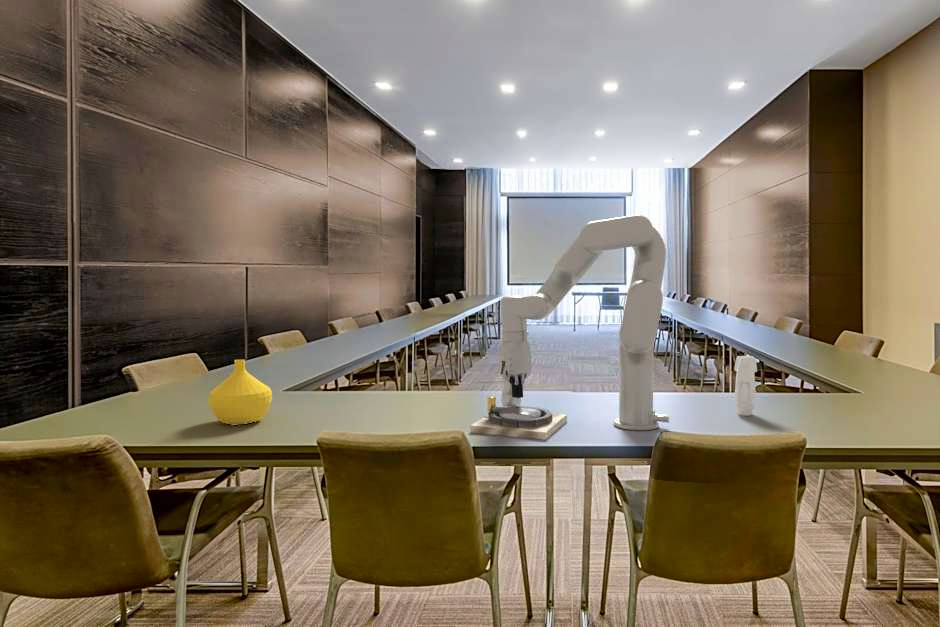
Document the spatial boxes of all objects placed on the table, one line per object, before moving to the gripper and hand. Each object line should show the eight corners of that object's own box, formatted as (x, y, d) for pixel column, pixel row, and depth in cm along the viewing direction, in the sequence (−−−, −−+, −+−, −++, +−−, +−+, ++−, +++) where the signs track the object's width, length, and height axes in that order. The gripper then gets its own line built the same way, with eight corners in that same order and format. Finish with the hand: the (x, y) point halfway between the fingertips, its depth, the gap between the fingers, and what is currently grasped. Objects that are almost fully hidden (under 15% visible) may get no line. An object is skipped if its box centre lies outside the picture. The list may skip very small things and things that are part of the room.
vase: (202, 430, 183) (199, 365, 182) (217, 416, 201) (215, 357, 200) (268, 427, 186) (265, 363, 184) (277, 413, 204) (275, 355, 202)
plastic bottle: (520, 410, 204) (519, 349, 203) (499, 409, 206) (498, 348, 204) (522, 405, 211) (522, 346, 209) (502, 405, 212) (501, 346, 211)
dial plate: (566, 421, 188) (566, 408, 188) (545, 439, 168) (545, 425, 168) (497, 415, 197) (497, 402, 197) (469, 432, 177) (469, 418, 177)
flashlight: (733, 411, 199) (732, 415, 193) (734, 354, 198) (733, 357, 192) (756, 412, 197) (756, 417, 190) (757, 355, 195) (757, 358, 189)
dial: (544, 415, 187) (543, 395, 186) (536, 425, 175) (536, 403, 175) (492, 412, 191) (492, 393, 191) (482, 421, 180) (482, 401, 179)
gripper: (523, 334, 197) (526, 392, 198) (487, 338, 187) (490, 399, 188) (541, 334, 191) (543, 394, 192) (505, 340, 181) (508, 402, 182)
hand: (517, 397), depth 190 cm, fingers closed
